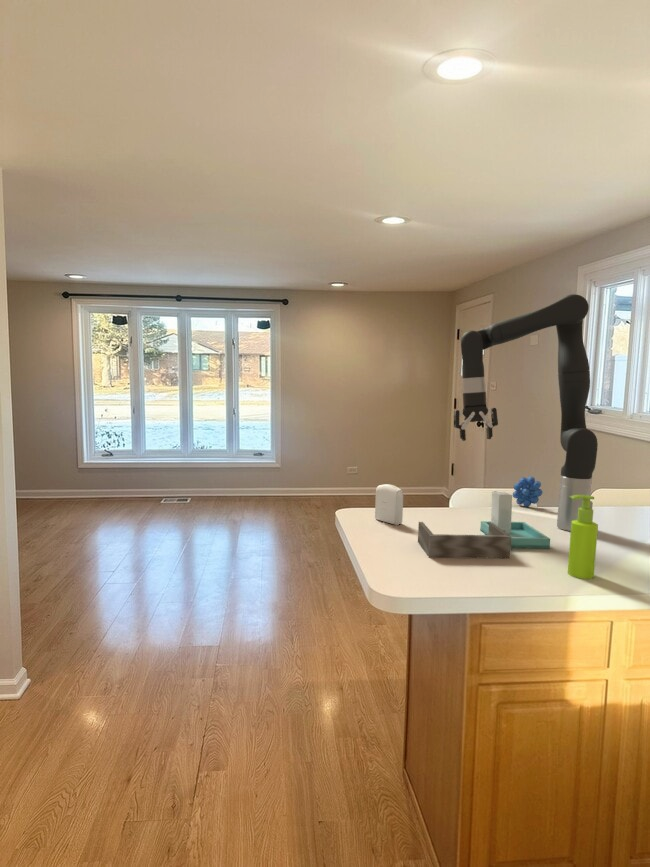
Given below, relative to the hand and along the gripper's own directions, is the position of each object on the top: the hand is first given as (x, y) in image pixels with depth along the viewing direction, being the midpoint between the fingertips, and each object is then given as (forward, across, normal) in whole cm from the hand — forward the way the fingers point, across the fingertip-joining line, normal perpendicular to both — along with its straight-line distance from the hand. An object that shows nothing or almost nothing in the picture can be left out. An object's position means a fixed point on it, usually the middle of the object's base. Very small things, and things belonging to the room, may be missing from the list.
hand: (476, 439), depth 180 cm
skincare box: (+28, +1, -15) cm, 32 cm away
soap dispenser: (+31, +8, -49) cm, 59 cm away
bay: (+28, -15, -31) cm, 45 cm away
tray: (+29, +3, -20) cm, 35 cm away
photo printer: (+25, -32, -2) cm, 41 cm away
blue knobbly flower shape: (+29, +26, +23) cm, 45 cm away
